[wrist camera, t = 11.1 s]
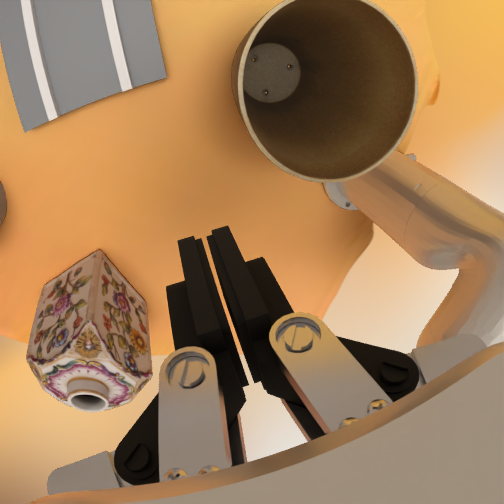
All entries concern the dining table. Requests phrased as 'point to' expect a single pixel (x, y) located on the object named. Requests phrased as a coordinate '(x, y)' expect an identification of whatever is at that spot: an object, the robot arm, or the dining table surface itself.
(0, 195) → the coffee mug
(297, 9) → the plant pot
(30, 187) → the dining table surface
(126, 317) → the decorative jar
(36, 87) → the board
